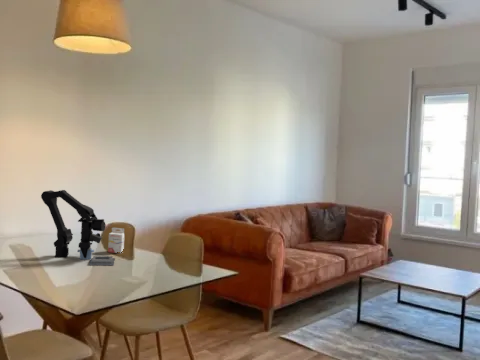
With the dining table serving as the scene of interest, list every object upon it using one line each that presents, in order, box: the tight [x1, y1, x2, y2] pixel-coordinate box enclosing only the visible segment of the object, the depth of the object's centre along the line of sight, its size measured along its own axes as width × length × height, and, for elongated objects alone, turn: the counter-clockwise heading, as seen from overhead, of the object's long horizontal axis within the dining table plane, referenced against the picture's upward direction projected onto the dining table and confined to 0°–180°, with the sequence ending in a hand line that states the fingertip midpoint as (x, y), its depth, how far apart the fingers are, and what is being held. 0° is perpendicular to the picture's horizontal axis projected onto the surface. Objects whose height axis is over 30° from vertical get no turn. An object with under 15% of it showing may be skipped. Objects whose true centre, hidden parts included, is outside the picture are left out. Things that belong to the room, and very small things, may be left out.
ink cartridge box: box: [107, 227, 125, 254], centre depth 308 cm, size 9×5×15 cm, turn 84°
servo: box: [76, 247, 95, 260], centre depth 289 cm, size 9×4×6 cm, turn 101°
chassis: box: [88, 255, 116, 266], centre depth 282 cm, size 13×13×2 cm
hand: (85, 256), depth 289 cm, fingers open, 5 cm apart
